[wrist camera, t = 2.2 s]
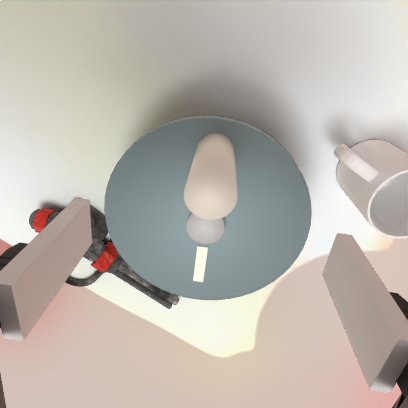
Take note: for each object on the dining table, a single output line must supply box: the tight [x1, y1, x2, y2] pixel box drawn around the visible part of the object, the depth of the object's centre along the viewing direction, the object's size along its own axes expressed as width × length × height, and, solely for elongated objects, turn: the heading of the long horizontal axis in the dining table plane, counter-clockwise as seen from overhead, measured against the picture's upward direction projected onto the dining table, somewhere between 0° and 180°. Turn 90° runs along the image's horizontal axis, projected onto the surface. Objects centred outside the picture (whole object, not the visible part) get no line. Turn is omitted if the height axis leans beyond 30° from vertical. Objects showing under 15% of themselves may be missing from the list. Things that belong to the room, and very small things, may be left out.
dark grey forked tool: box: [29, 205, 179, 309], centre depth 49 cm, size 6×26×15 cm
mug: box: [334, 139, 408, 238], centre depth 35 cm, size 12×8×10 cm, turn 55°
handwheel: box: [104, 115, 311, 300], centre depth 30 cm, size 22×22×12 cm
